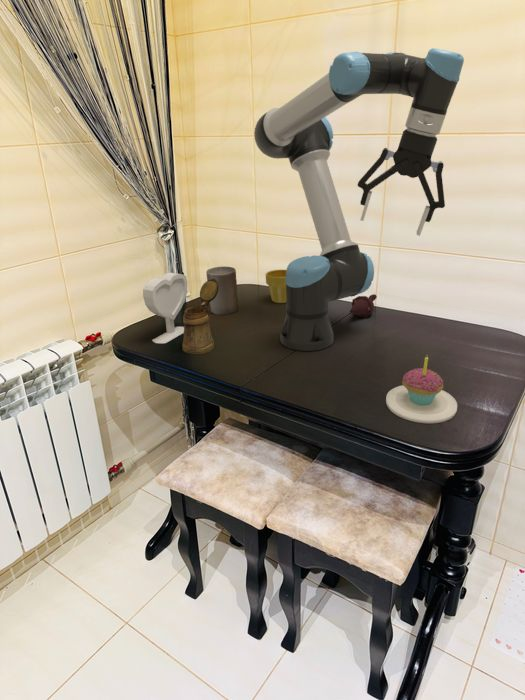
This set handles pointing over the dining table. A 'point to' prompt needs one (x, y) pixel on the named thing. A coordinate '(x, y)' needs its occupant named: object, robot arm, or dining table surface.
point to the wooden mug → (200, 322)
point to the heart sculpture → (166, 301)
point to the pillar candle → (224, 290)
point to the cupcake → (422, 384)
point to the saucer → (433, 413)
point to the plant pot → (277, 285)
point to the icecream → (363, 305)
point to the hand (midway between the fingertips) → (389, 226)
